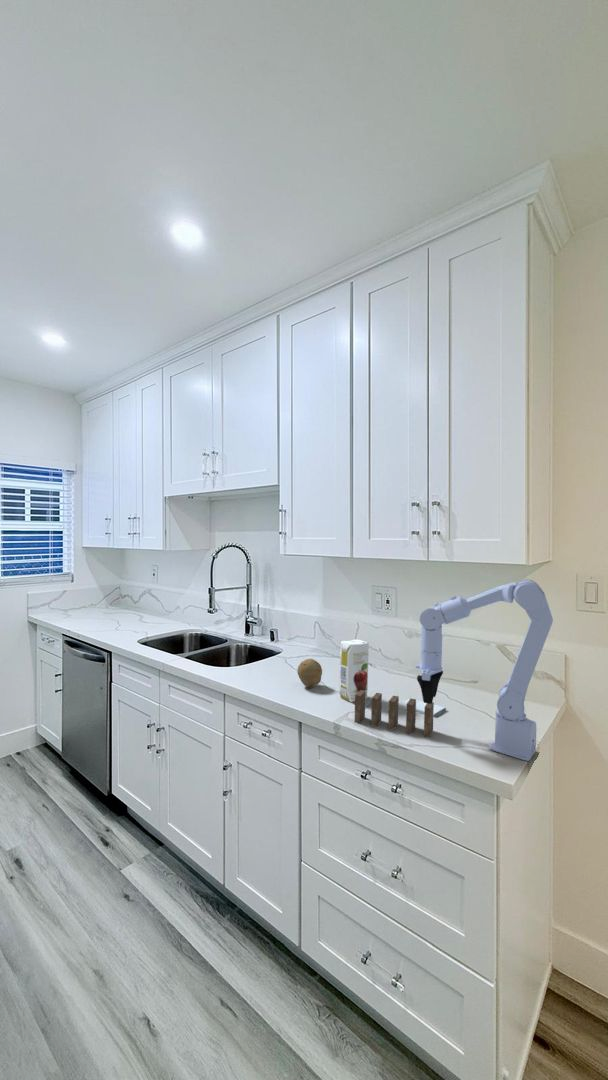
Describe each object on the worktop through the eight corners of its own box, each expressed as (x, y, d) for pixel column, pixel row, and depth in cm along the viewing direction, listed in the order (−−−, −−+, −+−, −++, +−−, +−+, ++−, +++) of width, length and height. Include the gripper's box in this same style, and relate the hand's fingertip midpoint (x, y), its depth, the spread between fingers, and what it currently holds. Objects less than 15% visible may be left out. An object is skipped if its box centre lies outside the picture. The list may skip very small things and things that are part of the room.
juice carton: (336, 696, 157) (337, 640, 157) (356, 692, 162) (357, 638, 162) (350, 703, 151) (351, 645, 151) (370, 699, 156) (372, 642, 155)
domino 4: (415, 727, 134) (416, 699, 134) (411, 733, 129) (412, 704, 129) (409, 726, 134) (410, 698, 134) (405, 732, 130) (406, 703, 130)
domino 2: (381, 720, 138) (381, 693, 138) (376, 726, 133) (377, 698, 133) (375, 719, 139) (376, 692, 138) (371, 725, 134) (371, 697, 134)
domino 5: (432, 730, 132) (433, 702, 132) (429, 737, 127) (430, 708, 127) (427, 729, 132) (427, 701, 132) (423, 736, 128) (424, 707, 128)
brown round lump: (301, 681, 173) (302, 654, 173) (324, 684, 170) (325, 657, 170) (294, 689, 164) (294, 660, 164) (318, 692, 162) (319, 663, 161)
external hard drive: (434, 719, 142) (397, 708, 150) (445, 712, 148) (410, 702, 156) (434, 713, 142) (398, 703, 150) (446, 707, 148) (410, 697, 156)
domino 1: (364, 717, 140) (365, 690, 140) (359, 723, 135) (360, 695, 135) (359, 716, 141) (360, 689, 141) (354, 722, 136) (355, 694, 136)
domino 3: (397, 723, 136) (398, 696, 136) (393, 730, 131) (394, 701, 131) (392, 722, 136) (393, 695, 136) (388, 729, 132) (388, 700, 132)
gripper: (421, 643, 138) (420, 689, 138) (411, 654, 125) (409, 705, 125) (446, 646, 135) (444, 693, 135) (438, 658, 122) (436, 710, 122)
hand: (429, 699), depth 130 cm, fingers open, 5 cm apart
